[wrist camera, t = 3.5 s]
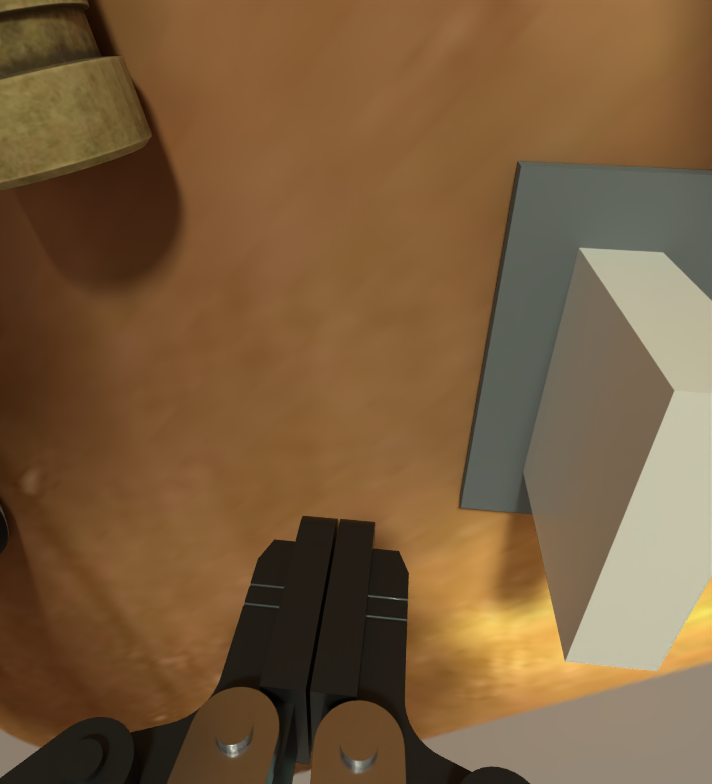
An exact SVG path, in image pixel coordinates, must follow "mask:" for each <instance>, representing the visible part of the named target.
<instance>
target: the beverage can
mask: <svg viewBox="0 0 712 784" xmlns="http://www.w3.org/2000/svg"><path fill="white" fill-rule="evenodd" d="M8 536H9V532H8V526H7V522H6V519H5V516H4V512H3V510H2V508H1V506H0V554H1V553H2V551H3V550H4V548H5V547H6V545H7V542H8Z"/></svg>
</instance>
